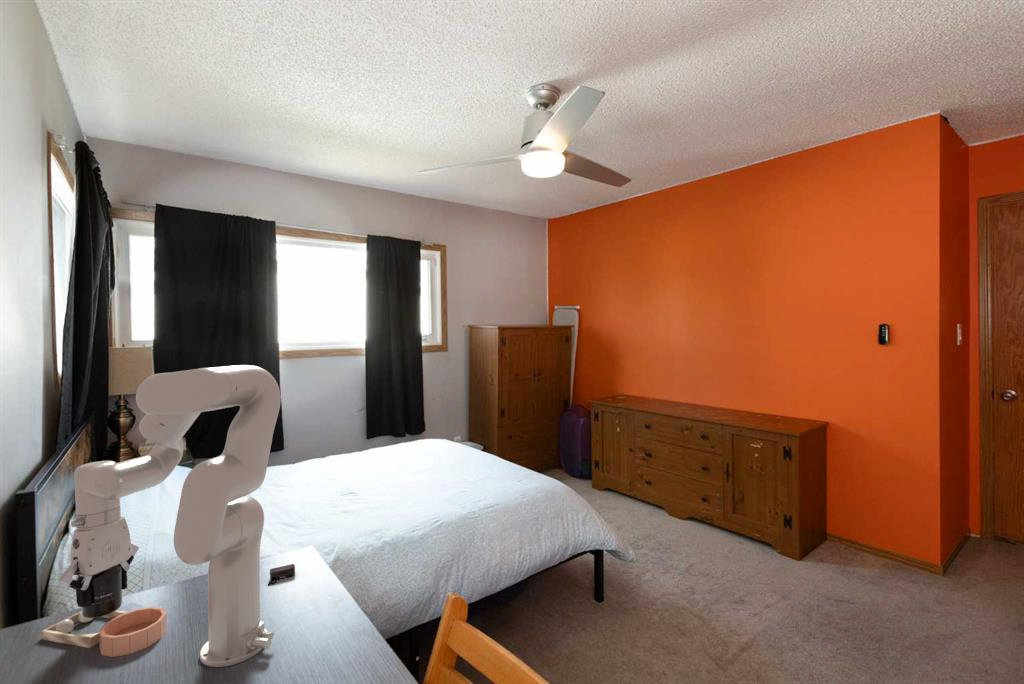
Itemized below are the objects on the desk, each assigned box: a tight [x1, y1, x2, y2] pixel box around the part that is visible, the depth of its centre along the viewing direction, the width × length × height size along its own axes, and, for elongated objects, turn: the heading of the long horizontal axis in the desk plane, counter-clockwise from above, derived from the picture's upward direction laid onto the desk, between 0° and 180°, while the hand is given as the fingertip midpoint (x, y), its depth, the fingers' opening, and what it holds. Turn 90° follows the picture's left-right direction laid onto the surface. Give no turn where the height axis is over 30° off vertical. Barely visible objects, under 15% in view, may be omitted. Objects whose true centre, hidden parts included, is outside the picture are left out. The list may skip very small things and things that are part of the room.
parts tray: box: [40, 609, 128, 649], centre depth 108 cm, size 14×10×2 cm
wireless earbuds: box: [267, 563, 296, 587], centre depth 130 cm, size 4×7×3 cm, turn 120°
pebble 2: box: [78, 612, 94, 624], centre depth 111 cm, size 3×3×3 cm
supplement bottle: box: [81, 565, 123, 619], centre depth 107 cm, size 7×7×12 cm
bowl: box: [98, 606, 167, 658], centre depth 105 cm, size 11×11×4 cm
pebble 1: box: [55, 618, 75, 634], centre depth 107 cm, size 3×3×3 cm
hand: (103, 596), depth 107 cm, fingers closed on supplement bottle, 6 cm apart
